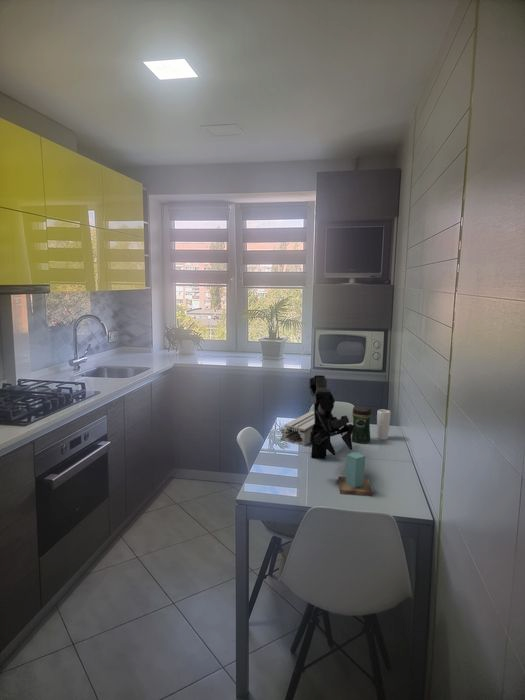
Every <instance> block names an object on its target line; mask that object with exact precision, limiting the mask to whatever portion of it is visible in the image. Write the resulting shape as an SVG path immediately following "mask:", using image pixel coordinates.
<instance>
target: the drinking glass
mask: <svg viewBox="0 0 525 700" xmlns="http://www.w3.org/2000/svg"><path fill="white" fill-rule="evenodd" d="M391 413H392V412H391V410H388V409H383V408H382V409H378V410H377V413H376V429H377V430H376V431H377V432H376V437H377V439H378V440H382V441H384V440H388V436H389V429H390V423H391V416H392V415H391Z"/></svg>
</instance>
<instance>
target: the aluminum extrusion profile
mask: <svg viewBox="0 0 525 700" xmlns="http://www.w3.org/2000/svg"><path fill="white" fill-rule="evenodd" d="M314 424H315V421H314V410H311V411H308V412H306V413H305V414H303V415H301V416H299V417H297V418H295V419H293V420H291V421H289V422H287V423H285V424H284V426H282V427H281V428H279V432H280V434H281V435H280V438H279V440H280V441H282V442H286V443H291V444H294V445H299V446H301V447H302V446H303V447H305V446H306V444H307V445H308V444H310V432H312V427H313V425H314Z"/></svg>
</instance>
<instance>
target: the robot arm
mask: <svg viewBox="0 0 525 700" xmlns="http://www.w3.org/2000/svg"><path fill="white" fill-rule="evenodd" d="M327 380H328V379H327V378H326V376H325V375H322V374H321V375H318V374H316V375H314V376H313V377H311V378H310V379H309V380H308V389H309V392H310V395H311V396H312V397H313V411H314V421H315V424H314V425H313V427H312V432H310V443H309V444H310V445H311V451H310V452H311V454H310V455H311V458H312V459H323V460H325V459H326V457H327V451H328V452H329V453H331V455H332V456H336V454H337V453H336V450H335V448H334V446H333V444H332V442H331V437H333V436H334V437H335V436H338V435H340V436H341V439H342V440H343V442H344V443H345V445H346V447H347V448H348V449H349V450H350V451H352V450H353V443H352V442H353V441H352V440H351V435H352V432H353V430H354V429H355V428H354V426H353V423H352V424H351V423H349V422H350V420H349V418H348V416H347V415H342V416H340V418H338V417H337V416H334V415H333V413H332V411H333V410H334V406H335V402H336V401H335V397H334V396H333V393H332V392H331V389H329V388H328V386H327V385H328V384H327V383H328V381H327Z"/></svg>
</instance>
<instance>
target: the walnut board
mask: <svg viewBox="0 0 525 700" xmlns="http://www.w3.org/2000/svg"><path fill="white" fill-rule="evenodd" d="M337 477H338V479H337V481H338V488H339V489H338V491H339V494H341V495H342V494H343V495H354V494H357V496H367V495H368V496H369V497H371V496H373V495H372V494H373V492H372V488H371V487H372V486H371V484H370V480H369V478H367V477H364V485H362V486H359V487H356V488H354V487H352V486H350V485H348V484H347V483H345V481H346V476H342V475H341V476H337Z"/></svg>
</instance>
